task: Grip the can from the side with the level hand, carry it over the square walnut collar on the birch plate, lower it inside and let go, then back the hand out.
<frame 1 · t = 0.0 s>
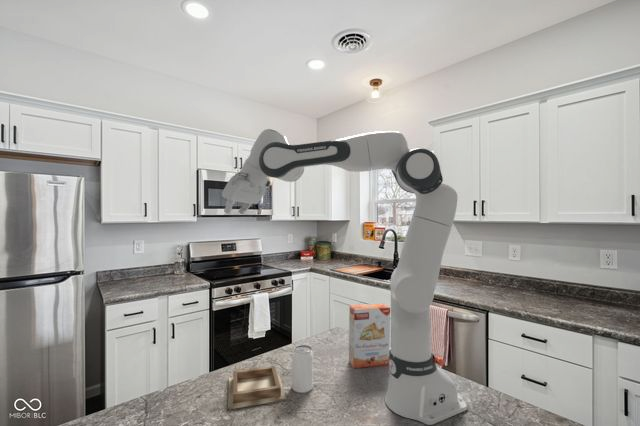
hand: (234, 213, 99), 54 cm above the countertop, tool tilted 30°, fingers open, 8 cm apart
cracker box: (369, 364, 109), on the countertop
can: (302, 388, 93), on the countertop
collar: (255, 389, 92), on the countertop
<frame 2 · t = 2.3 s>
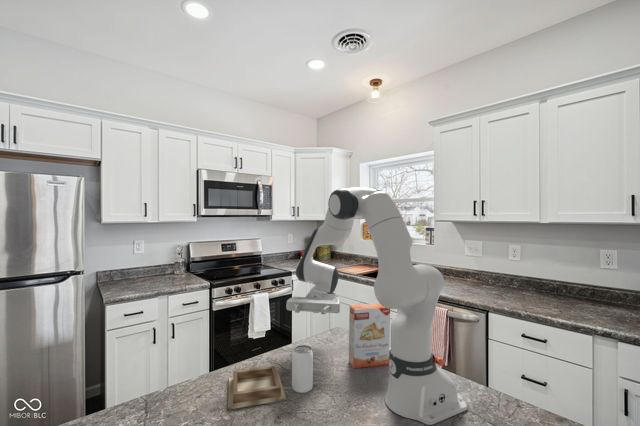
hand: (310, 311, 105), 20 cm above the countertop, tool horizontal, fingers open, 8 cm apart
nothing on the countertop moved.
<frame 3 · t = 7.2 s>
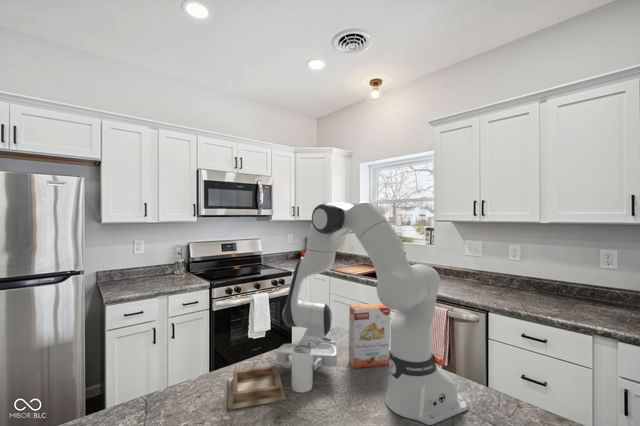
hand: (302, 366, 92), 7 cm above the countertop, tool horizontal, fingers closed on can, 6 cm apart
can: (302, 388, 93), on the countertop, touching gripper
everything else where it was.
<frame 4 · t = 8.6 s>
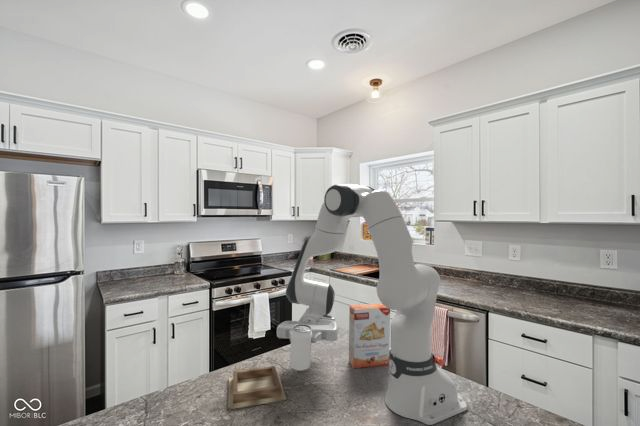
hand: (302, 339, 92), 15 cm above the countertop, tool horizontal, fingers closed on can, 5 cm apart
can: (299, 366, 93), point 6 cm above the countertop, touching gripper
everything else where it was.
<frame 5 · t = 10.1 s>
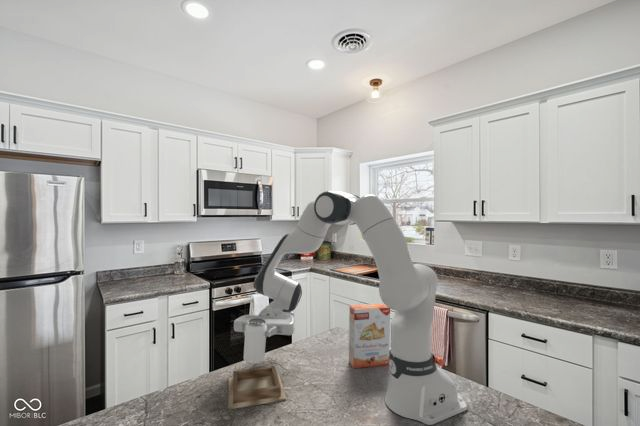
hand: (256, 333, 92), 17 cm above the countertop, tool horizontal, fingers closed on can, 5 cm apart
can: (253, 359, 94), point 8 cm above the countertop, touching gripper
everything else where it was.
when the fingers open (9 cm above the countertop, at t = 12.5 s): can stays where it is, resting on collar.
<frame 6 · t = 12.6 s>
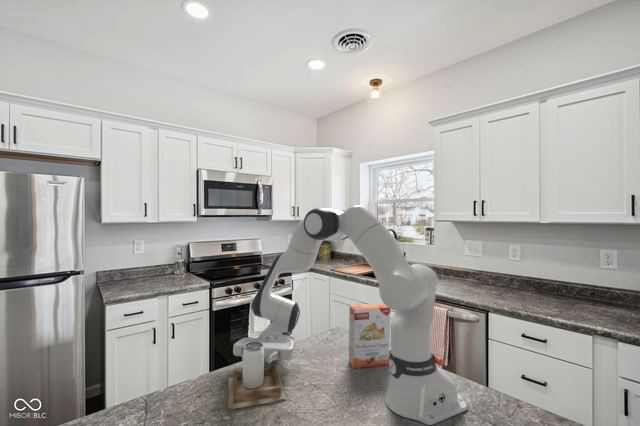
hand: (255, 359, 92), 9 cm above the countertop, tool horizontal, fingers open, 6 cm apart
can: (253, 383, 94), point 1 cm above the countertop, touching collar, gripper
everything else where it was.
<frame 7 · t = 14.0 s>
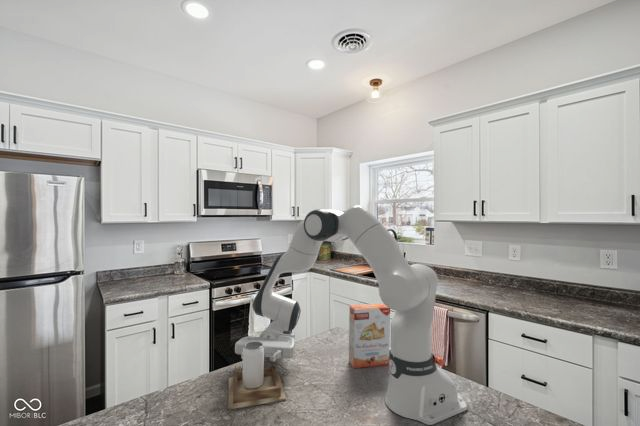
hand: (257, 357, 93), 9 cm above the countertop, tool horizontal, fingers open, 8 cm apart
can: (253, 384, 93), resting on collar
everything else where it was.
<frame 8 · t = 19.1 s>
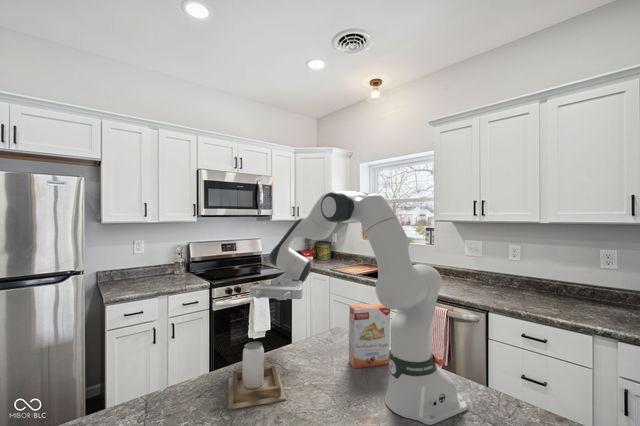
hand: (270, 296, 105), 25 cm above the countertop, tool horizontal, fingers open, 8 cm apart
nothing on the countertop moved.
at the end: can 2.2 cm off-centre on the collar, point 0.4 cm above the collar's base; can tilted 0°; the gripper is holding nothing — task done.
